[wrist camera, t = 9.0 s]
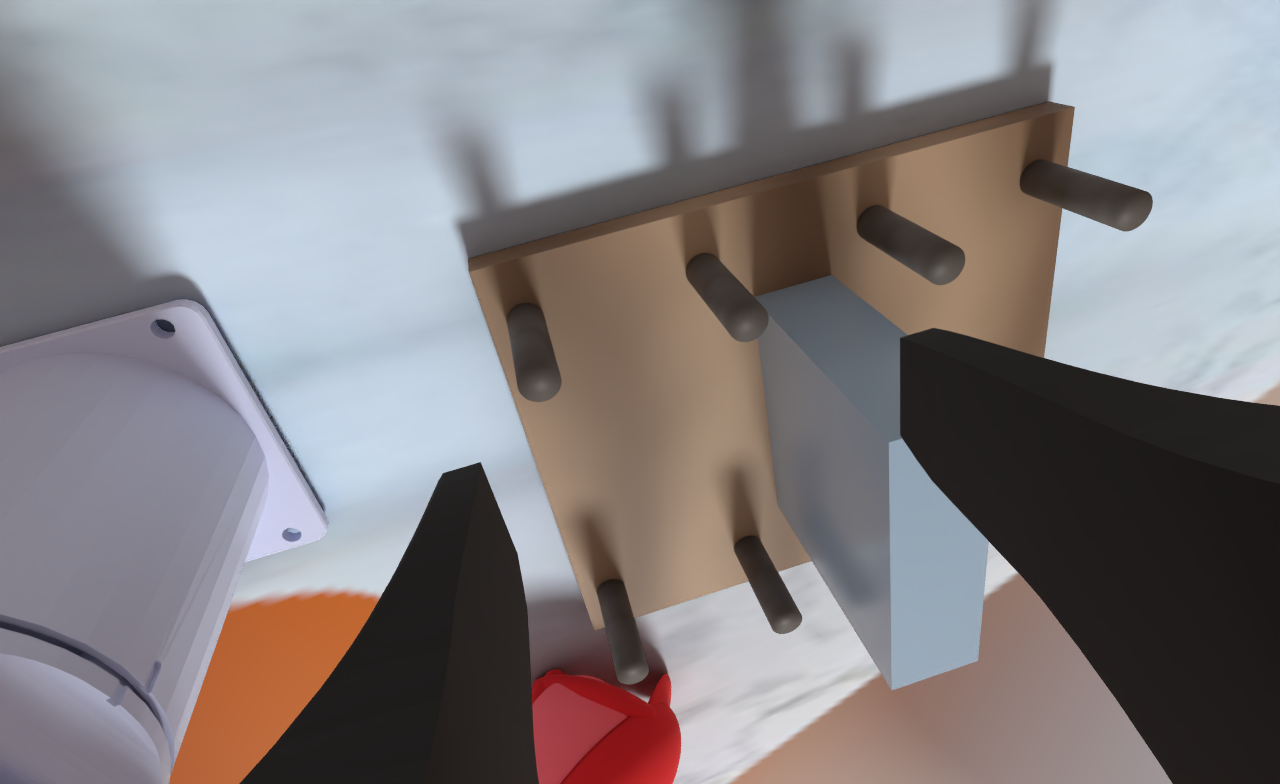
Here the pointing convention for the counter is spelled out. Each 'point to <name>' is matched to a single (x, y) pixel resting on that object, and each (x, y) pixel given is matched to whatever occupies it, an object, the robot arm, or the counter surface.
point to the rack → (756, 341)
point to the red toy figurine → (603, 732)
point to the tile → (866, 484)
